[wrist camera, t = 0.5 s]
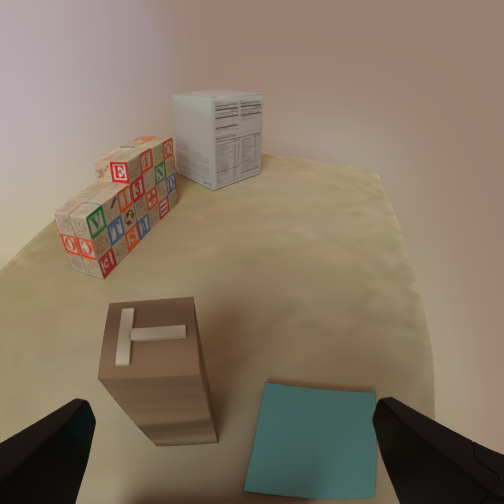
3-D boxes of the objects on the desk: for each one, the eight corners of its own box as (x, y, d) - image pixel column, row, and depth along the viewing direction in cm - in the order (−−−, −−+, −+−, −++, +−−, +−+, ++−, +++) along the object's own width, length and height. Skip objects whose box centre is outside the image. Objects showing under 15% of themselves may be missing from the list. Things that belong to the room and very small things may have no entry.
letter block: (217, 442, 20) (199, 371, 12) (156, 446, 19) (96, 376, 11) (210, 390, 24) (192, 294, 16) (154, 394, 23) (108, 300, 15)
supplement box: (262, 174, 62) (266, 93, 51) (213, 192, 54) (211, 98, 43) (221, 158, 69) (221, 88, 58) (175, 173, 61) (170, 94, 51)
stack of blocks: (104, 281, 34) (77, 193, 27) (73, 270, 35) (45, 190, 28) (178, 202, 51) (172, 135, 43) (149, 199, 52) (141, 135, 44)
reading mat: (371, 497, 15) (374, 496, 15) (243, 490, 16) (243, 490, 16) (372, 395, 23) (375, 392, 23) (265, 385, 24) (265, 382, 24)
